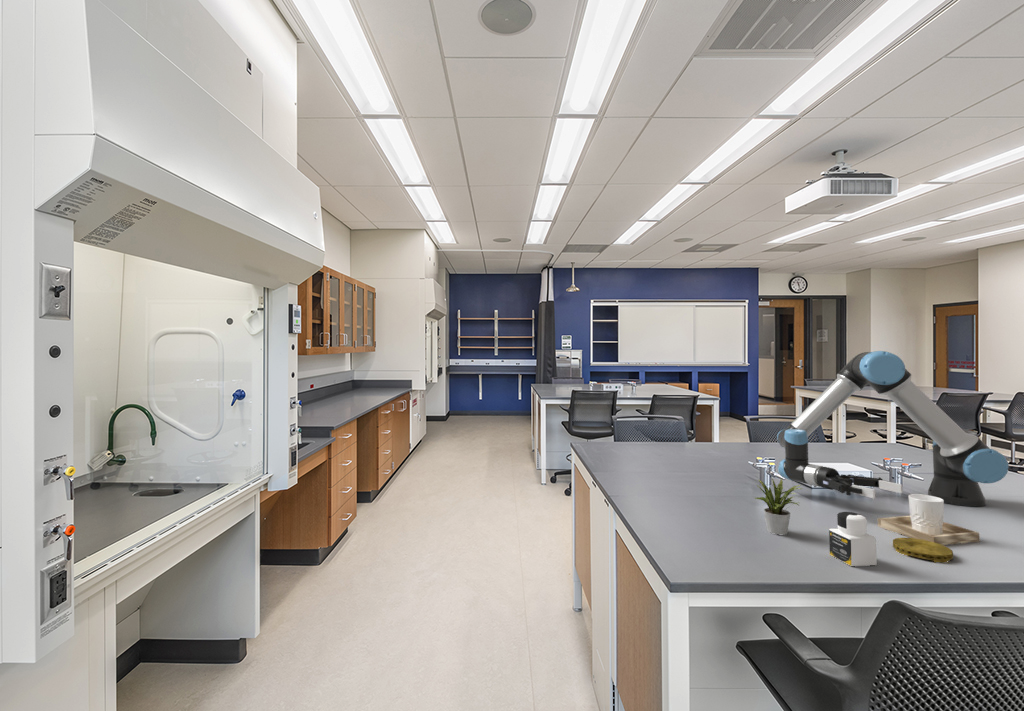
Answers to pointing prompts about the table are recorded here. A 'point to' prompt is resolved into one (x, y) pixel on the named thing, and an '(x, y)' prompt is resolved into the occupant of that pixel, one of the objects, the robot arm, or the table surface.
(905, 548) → the gold notched disc
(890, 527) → the tray
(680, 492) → the table surface
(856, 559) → the medicine bottle
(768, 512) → the house plant
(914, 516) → the white cup
